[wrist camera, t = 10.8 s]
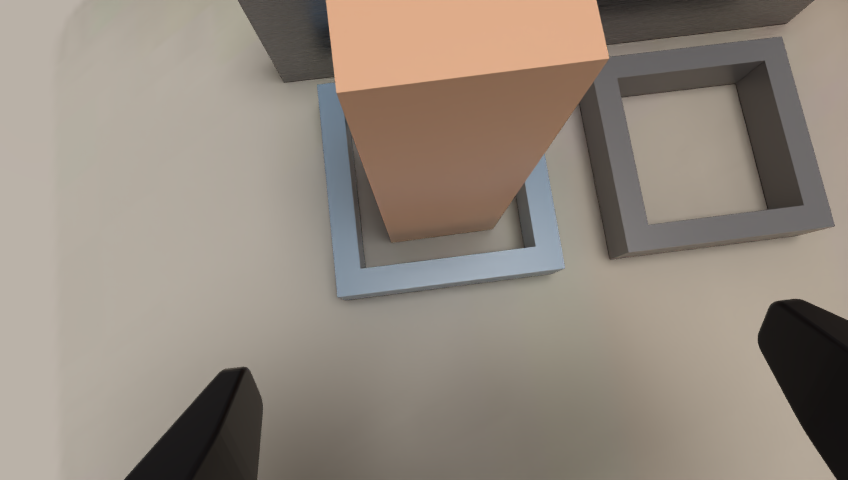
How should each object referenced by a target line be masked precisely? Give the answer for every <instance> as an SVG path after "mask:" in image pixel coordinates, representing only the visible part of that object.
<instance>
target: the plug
mask: <svg viewBox="0 0 848 480" xmlns="http://www.w3.org/2000/svg"><path fill="white" fill-rule="evenodd" d="M326 5H327V14H328V23H329V32H330V40H331V49H332V58H333V67H334V76H335V85H336V93H337V96H338V99H339V101H340V104H341V107H342V109H343V112H344V115H345V118H346V120H347V123H348V126H349V128H350V131H351V134H352V137H353V139H354V142H355V145H356V148H357V150H358V153H359V156H360V158H361V161H362V164H363V167H364V169H365V172H366V175H367V177H368V180H369V183H370V186H371V188H372V191H373V194H374V196H375V199H376V202H377V205H378V207H379V210H380V213H381V215H382V218H383V221H384V224H385V226H386V229H387V232H388V235H389V237H390V240H391V243H393V242H401V241H408V240H416V239H423V238H431V237H438V236H445V235H453V234H460V233H468V232H475V231H483V230H490V229H493V228H494V227H495V225H496V224H497V222H498V221H499V219H500V218H501V216H502V215H503V213H504V212H505V210H506V209H507V208H508V206H509V205H510V203H511V202H512V200H513V199H514V197H515V196H516V194H517V193H518V191H519V190H520V189H521V187H522V186H523V184H524V183H525V181H526V180H527V178H528V177H529V175H530V174H531V172H532V171H533V169H534V168H535V167H536V165H537V164H538V162H539V161H540V159H541V158H542V156H543V155H544V153H545V152H546V150H547V149H548V147H549V146H550V145H551V143H552V142H553V140H554V139H555V137H556V136H557V134H558V133H559V131H560V130H561V128H562V127H563V126H564V124H565V123H566V121H567V120H568V118H569V117H570V115H571V114H572V112H573V111H574V109H575V108H576V106H577V105H578V104H579V102H580V101H581V99H582V98H583V96H584V95H585V93H586V92H587V90H588V89H589V87H590V86H591V85H592V83H593V82H594V80H595V79H596V77H597V76H598V74H599V73H600V71H601V70H602V68H603V67H604V65H605V64H606V63H607V61H608V60H609V55H608V50H607V46H606V41H605V37H604V32H603V28H602V23H601V19H600V14H599V10H598V5H597V1H596V0H326Z"/></svg>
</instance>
